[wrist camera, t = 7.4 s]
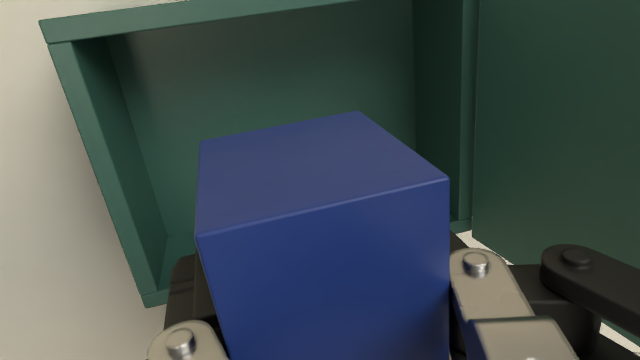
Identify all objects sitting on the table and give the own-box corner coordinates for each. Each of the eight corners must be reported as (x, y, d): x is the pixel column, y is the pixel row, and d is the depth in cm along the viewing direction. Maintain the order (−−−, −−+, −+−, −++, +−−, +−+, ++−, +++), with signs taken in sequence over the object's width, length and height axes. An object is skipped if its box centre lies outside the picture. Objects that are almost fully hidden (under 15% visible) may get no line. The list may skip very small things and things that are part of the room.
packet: (250, 340, 14) (270, 500, 9) (198, 140, 11) (192, 235, 7) (376, 305, 15) (450, 439, 10) (358, 109, 12) (451, 176, 7)
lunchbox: (159, 244, 25) (145, 309, 20) (83, 14, 20) (37, 20, 14) (423, 186, 27) (472, 230, 22) (419, -30, 22) (482, -39, 17)
